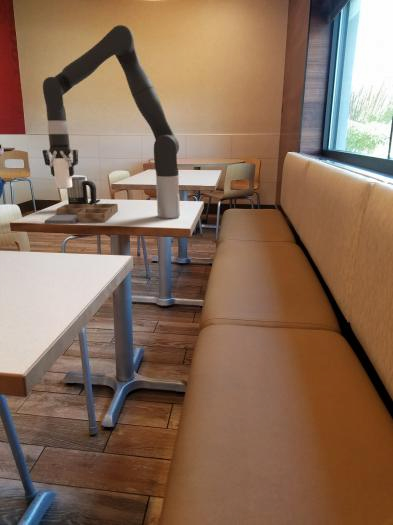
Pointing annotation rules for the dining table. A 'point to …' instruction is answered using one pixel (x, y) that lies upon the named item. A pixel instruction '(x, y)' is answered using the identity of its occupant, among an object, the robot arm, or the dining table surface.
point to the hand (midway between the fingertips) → (62, 176)
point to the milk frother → (81, 191)
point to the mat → (62, 218)
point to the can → (62, 173)
